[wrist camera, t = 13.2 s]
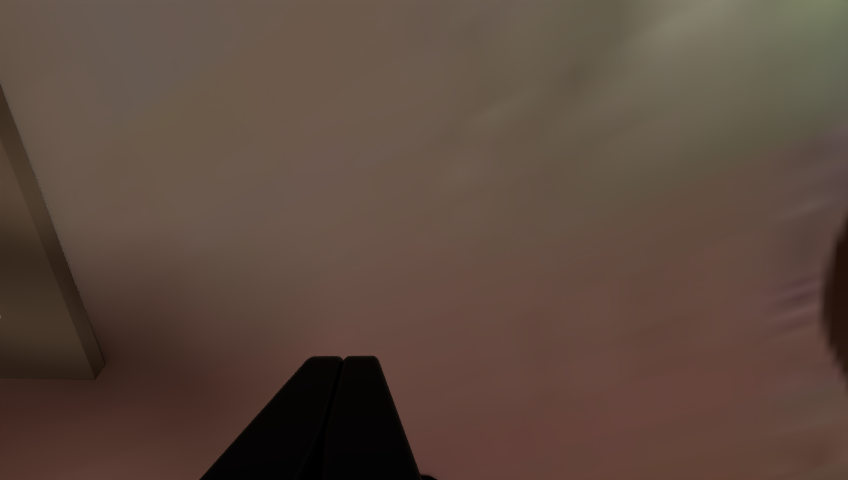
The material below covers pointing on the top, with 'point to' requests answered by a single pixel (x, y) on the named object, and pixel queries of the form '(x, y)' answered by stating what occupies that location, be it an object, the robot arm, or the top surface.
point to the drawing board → (36, 279)
